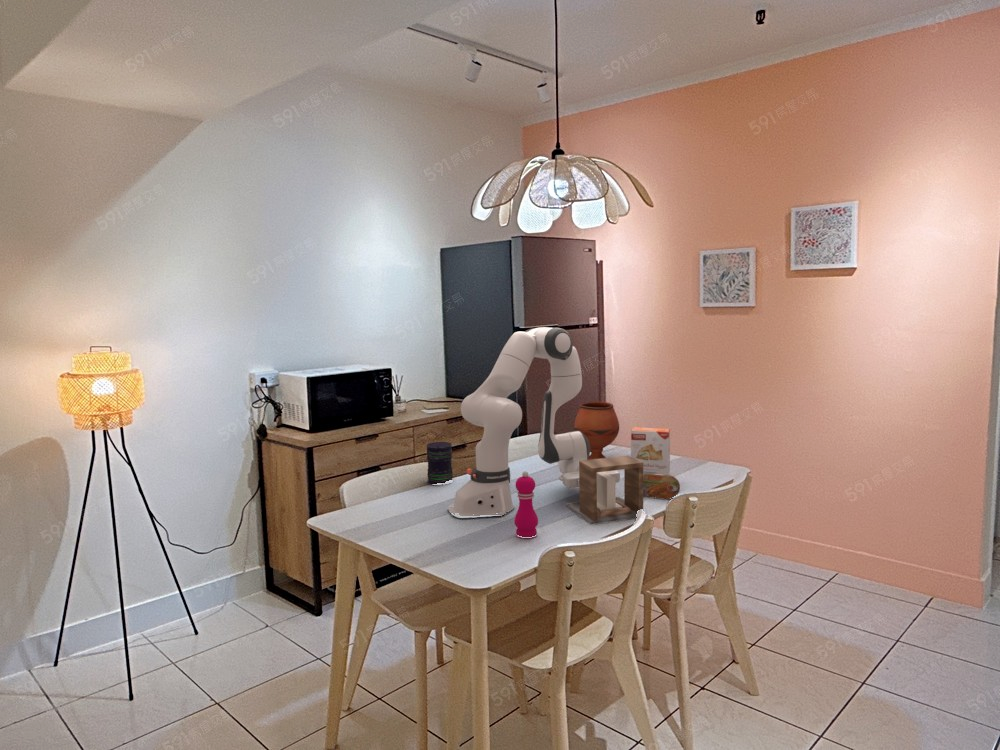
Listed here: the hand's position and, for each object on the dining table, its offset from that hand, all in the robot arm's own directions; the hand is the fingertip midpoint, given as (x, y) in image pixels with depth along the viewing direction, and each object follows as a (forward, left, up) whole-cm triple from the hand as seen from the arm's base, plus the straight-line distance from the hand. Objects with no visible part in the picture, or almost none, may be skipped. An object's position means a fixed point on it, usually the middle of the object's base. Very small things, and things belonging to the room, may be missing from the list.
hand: (600, 484), depth 230 cm
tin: (+24, +3, -9) cm, 26 cm away
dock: (0, -3, -8) cm, 9 cm away
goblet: (+25, +55, -8) cm, 61 cm away
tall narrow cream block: (0, -4, -7) cm, 8 cm away
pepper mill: (-32, -15, -8) cm, 36 cm away
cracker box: (+30, +19, -8) cm, 37 cm away
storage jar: (-44, +51, -8) cm, 68 cm away
